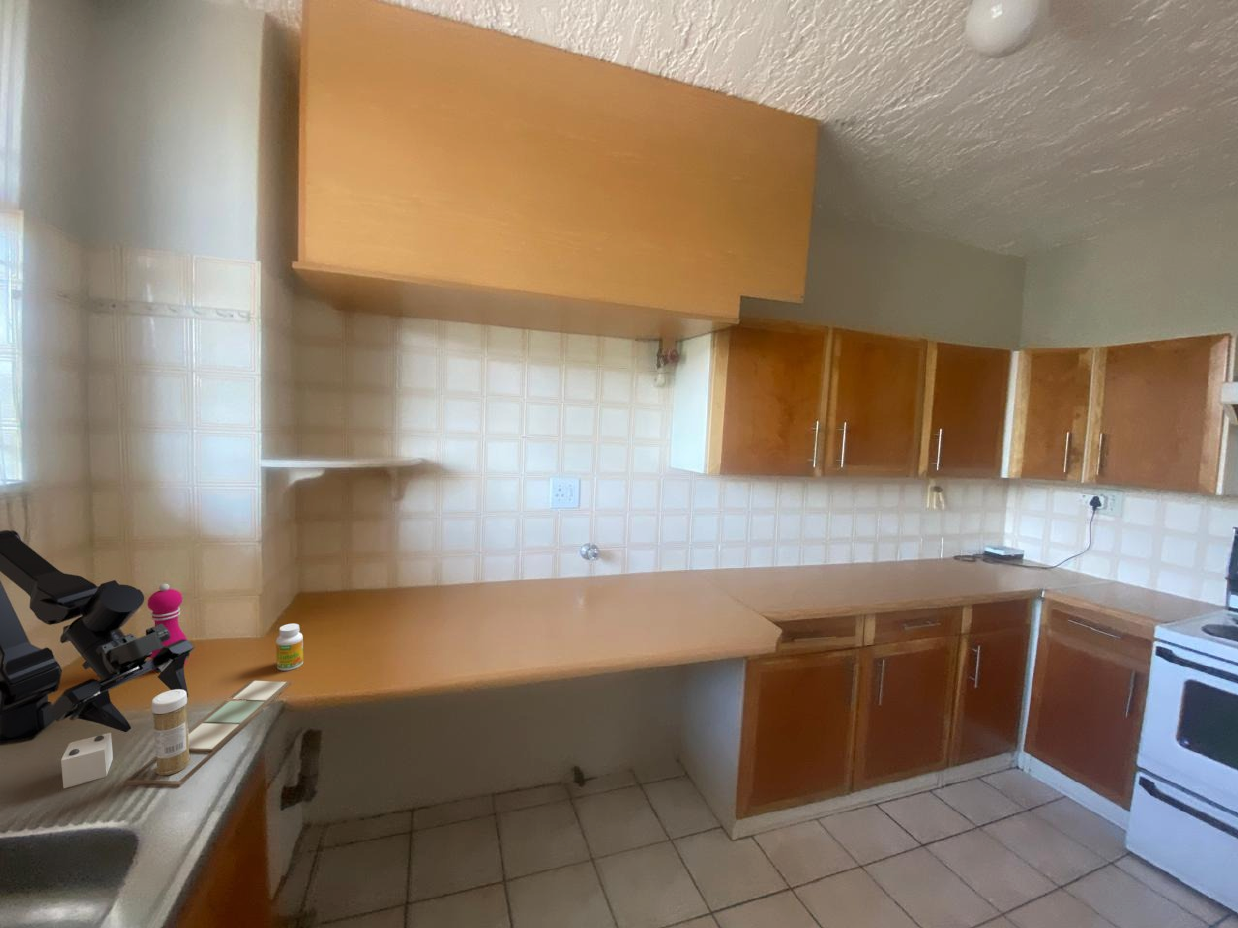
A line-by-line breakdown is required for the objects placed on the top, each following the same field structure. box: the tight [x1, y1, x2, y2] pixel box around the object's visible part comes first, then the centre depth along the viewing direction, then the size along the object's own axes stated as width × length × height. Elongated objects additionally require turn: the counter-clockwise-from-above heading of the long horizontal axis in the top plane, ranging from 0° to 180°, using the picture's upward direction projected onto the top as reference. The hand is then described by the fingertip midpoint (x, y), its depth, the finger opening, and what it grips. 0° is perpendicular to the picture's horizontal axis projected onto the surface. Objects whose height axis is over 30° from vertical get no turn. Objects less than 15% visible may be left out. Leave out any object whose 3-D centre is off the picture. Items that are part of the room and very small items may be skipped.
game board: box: [123, 680, 293, 787], centre depth 99 cm, size 9×30×1 cm, turn 2°
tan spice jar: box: [150, 689, 191, 776], centre depth 87 cm, size 5×5×14 cm
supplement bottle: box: [275, 623, 304, 672], centre depth 121 cm, size 5×5×10 cm
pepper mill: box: [147, 583, 188, 672], centre depth 118 cm, size 7×7×20 cm
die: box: [60, 732, 114, 789], centre depth 85 cm, size 5×5×6 cm
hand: (158, 713), depth 87 cm, fingers open, 9 cm apart
